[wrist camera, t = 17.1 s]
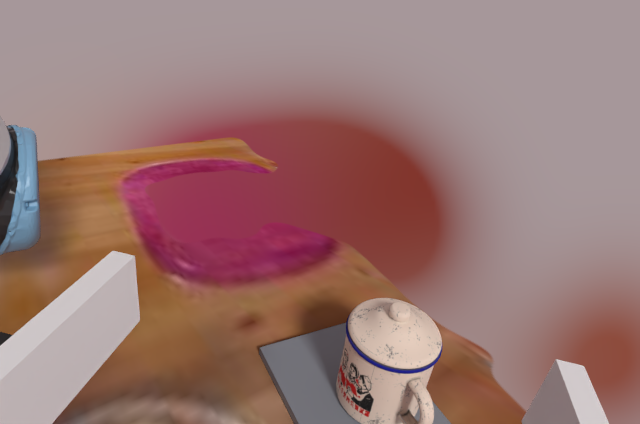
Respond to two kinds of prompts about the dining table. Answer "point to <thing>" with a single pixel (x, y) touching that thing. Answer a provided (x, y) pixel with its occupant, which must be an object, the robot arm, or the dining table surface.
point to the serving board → (314, 377)
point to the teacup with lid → (388, 363)
